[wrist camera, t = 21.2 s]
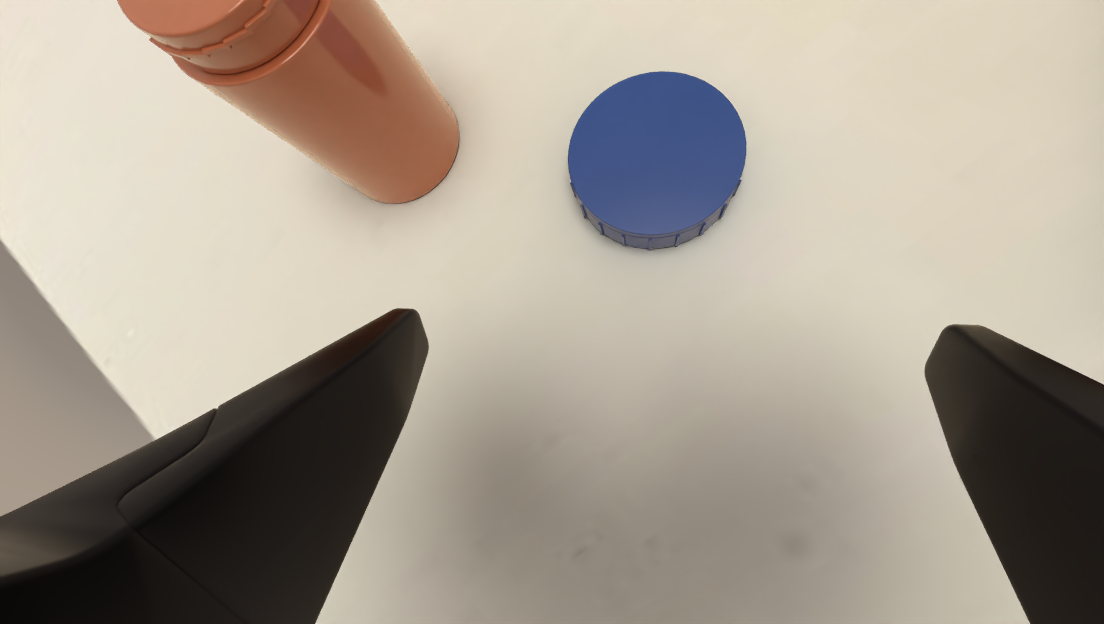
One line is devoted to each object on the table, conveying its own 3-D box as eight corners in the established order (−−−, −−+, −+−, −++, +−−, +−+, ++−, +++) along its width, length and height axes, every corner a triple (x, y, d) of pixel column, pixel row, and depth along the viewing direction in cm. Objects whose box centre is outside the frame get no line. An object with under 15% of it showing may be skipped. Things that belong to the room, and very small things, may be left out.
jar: (409, 227, 22) (195, 84, 11) (324, 165, 23) (66, -11, 13) (484, 123, 22) (338, -113, 11) (394, 68, 23) (193, -184, 13)
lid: (692, 71, 20) (697, 40, 18) (768, 205, 19) (782, 186, 17) (550, 143, 21) (541, 120, 19) (612, 276, 19) (608, 265, 17)
